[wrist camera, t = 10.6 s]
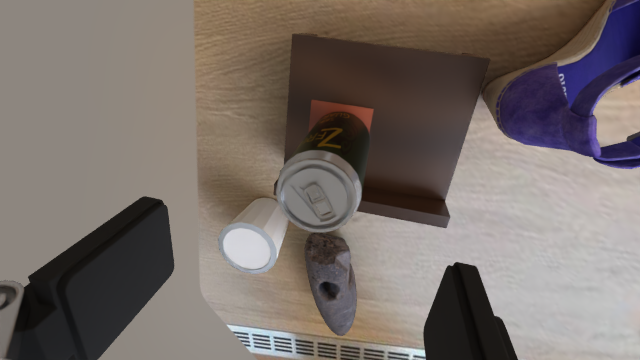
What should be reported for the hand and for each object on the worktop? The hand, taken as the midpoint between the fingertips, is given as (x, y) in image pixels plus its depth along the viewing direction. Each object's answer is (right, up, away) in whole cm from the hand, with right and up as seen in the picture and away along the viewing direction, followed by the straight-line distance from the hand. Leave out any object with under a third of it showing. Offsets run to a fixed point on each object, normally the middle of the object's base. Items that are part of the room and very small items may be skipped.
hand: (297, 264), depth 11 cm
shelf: (+6, +9, +23) cm, 26 cm away
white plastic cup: (-6, -2, +31) cm, 32 cm away
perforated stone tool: (+3, -9, +33) cm, 34 cm away
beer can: (+3, +7, +20) cm, 21 cm away
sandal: (+24, +15, +17) cm, 33 cm away
